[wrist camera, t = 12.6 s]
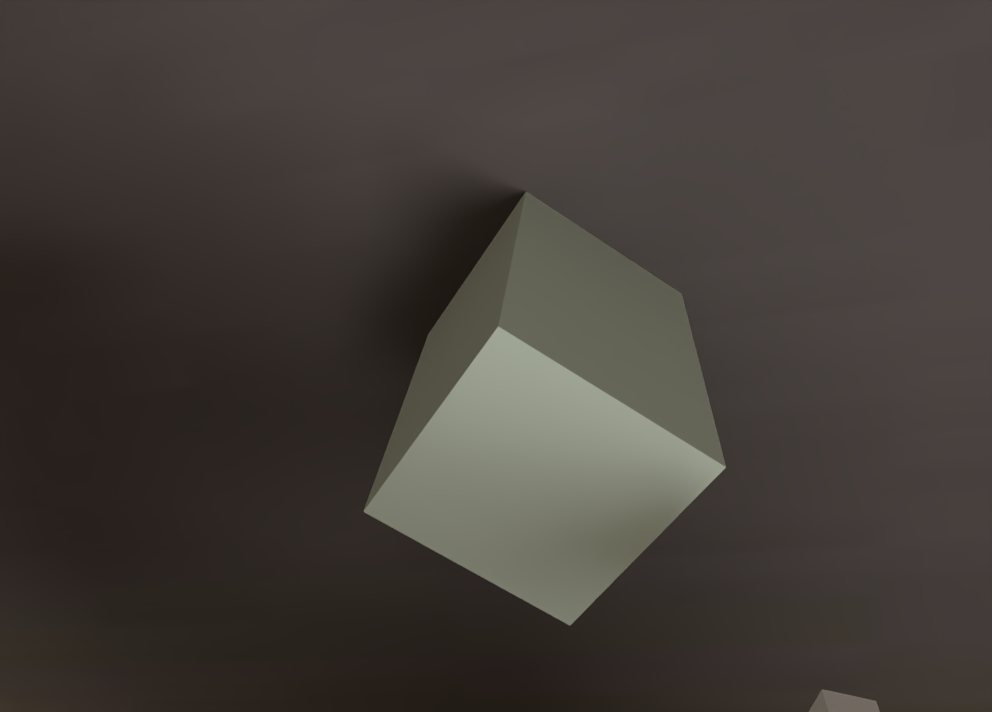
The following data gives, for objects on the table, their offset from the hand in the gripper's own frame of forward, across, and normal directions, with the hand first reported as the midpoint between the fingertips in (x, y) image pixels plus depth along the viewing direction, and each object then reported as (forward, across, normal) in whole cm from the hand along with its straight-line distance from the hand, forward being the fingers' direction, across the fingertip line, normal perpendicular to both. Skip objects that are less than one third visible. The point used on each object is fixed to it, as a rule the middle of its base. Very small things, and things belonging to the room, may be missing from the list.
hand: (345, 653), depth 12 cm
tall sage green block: (+13, -3, 0) cm, 13 cm away
